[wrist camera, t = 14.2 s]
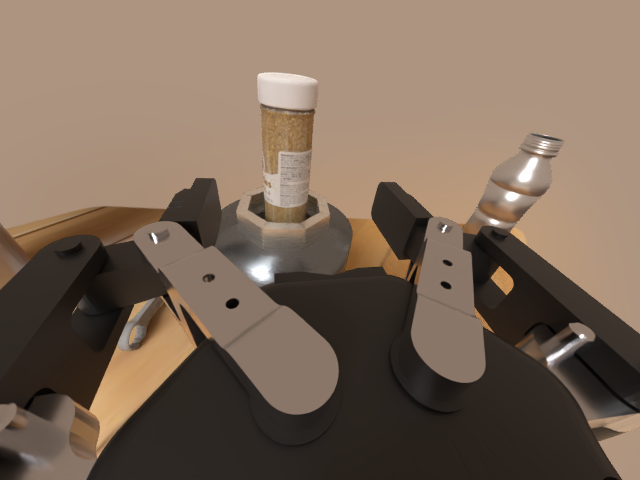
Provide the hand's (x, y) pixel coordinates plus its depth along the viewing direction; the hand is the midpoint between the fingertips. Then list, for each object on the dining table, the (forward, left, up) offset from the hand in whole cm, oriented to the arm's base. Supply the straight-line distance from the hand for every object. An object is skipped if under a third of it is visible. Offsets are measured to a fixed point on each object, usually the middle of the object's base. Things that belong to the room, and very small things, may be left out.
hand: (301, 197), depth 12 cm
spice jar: (+7, +8, -9) cm, 14 cm away
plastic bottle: (+33, -10, -19) cm, 39 cm away
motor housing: (+7, +10, -19) cm, 23 cm away
